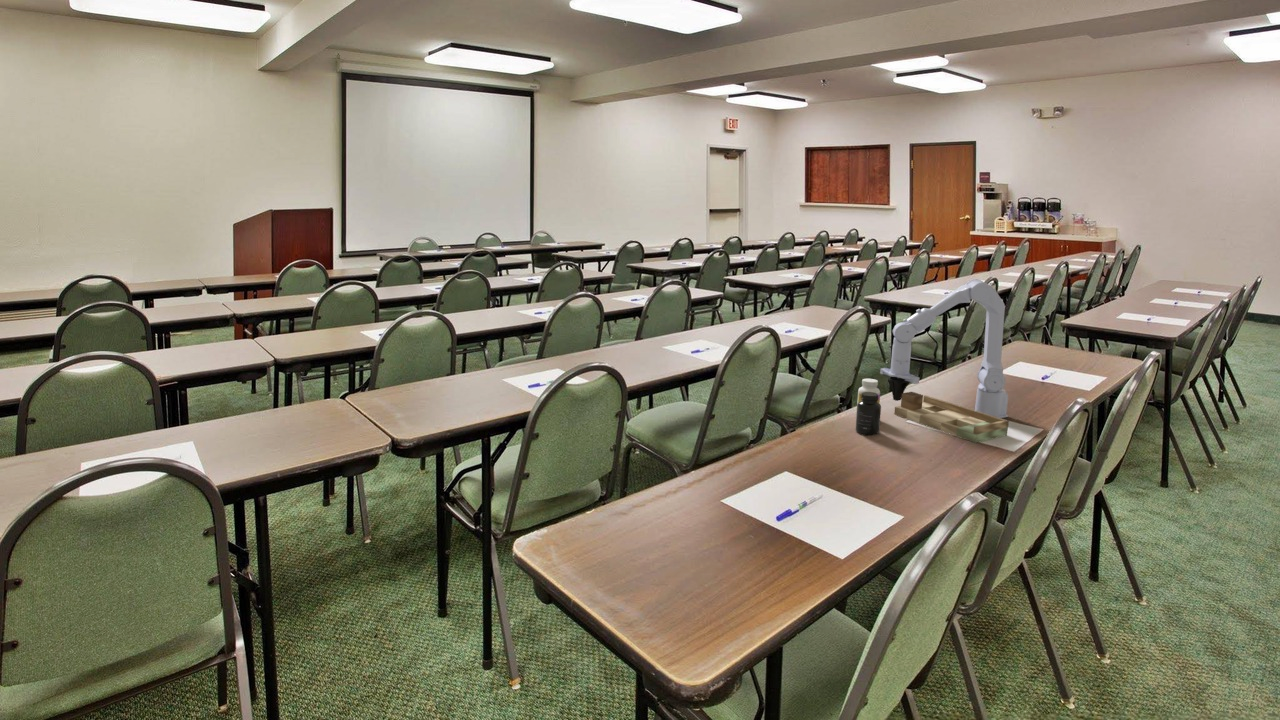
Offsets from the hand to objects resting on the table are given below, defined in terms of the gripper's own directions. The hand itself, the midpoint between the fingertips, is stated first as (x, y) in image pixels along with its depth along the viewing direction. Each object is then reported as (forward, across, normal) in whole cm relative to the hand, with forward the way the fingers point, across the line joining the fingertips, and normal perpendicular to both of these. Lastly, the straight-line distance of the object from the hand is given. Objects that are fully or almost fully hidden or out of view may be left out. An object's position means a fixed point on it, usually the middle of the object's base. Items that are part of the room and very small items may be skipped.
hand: (897, 399), depth 233 cm
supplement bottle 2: (+4, +12, -25) cm, 28 cm away
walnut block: (+1, +6, 0) cm, 6 cm away
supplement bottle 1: (+4, +3, -16) cm, 17 cm away
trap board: (+3, +18, +3) cm, 19 cm away
